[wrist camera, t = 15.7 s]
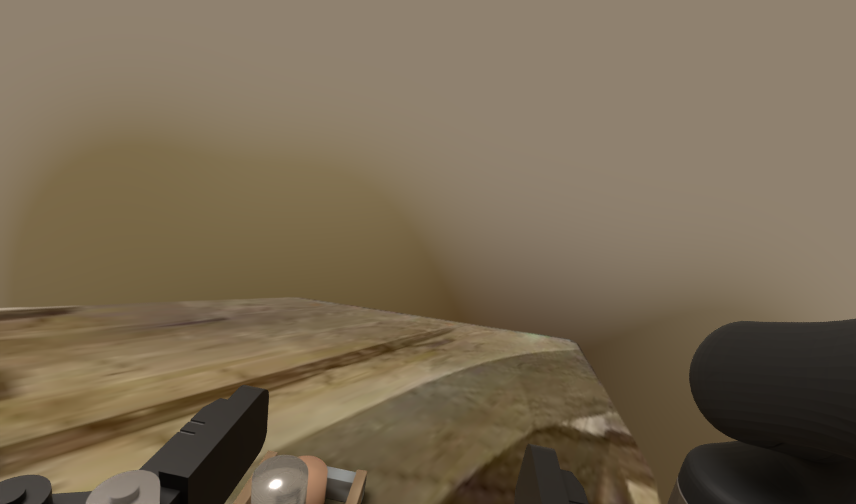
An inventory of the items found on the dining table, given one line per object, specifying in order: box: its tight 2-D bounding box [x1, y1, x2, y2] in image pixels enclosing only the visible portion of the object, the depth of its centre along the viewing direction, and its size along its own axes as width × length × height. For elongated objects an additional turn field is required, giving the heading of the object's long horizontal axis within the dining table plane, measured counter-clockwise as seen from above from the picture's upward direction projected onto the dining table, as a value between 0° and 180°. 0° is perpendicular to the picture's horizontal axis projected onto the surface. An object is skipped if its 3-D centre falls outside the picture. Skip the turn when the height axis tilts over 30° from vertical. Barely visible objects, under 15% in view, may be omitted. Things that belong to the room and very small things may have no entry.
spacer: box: [298, 456, 328, 504], centre depth 46 cm, size 5×5×6 cm
